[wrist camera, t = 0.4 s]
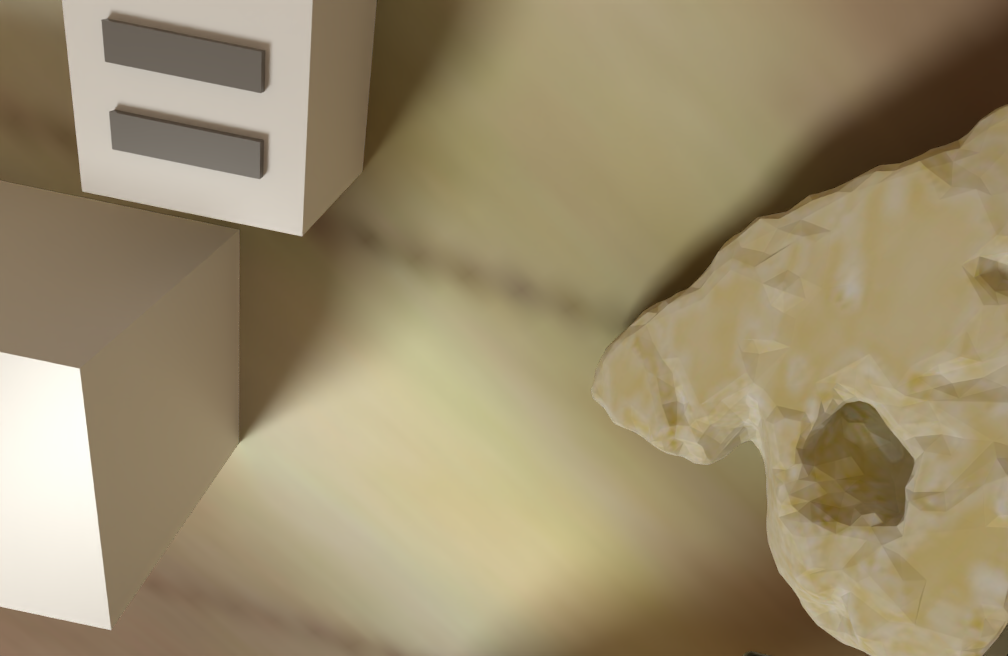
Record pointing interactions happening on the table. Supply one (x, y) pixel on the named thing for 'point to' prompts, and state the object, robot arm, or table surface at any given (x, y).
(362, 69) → the white marked cube
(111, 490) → the plain grey block
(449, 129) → the table surface
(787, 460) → the cheese
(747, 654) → the robot arm
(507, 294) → the table surface
